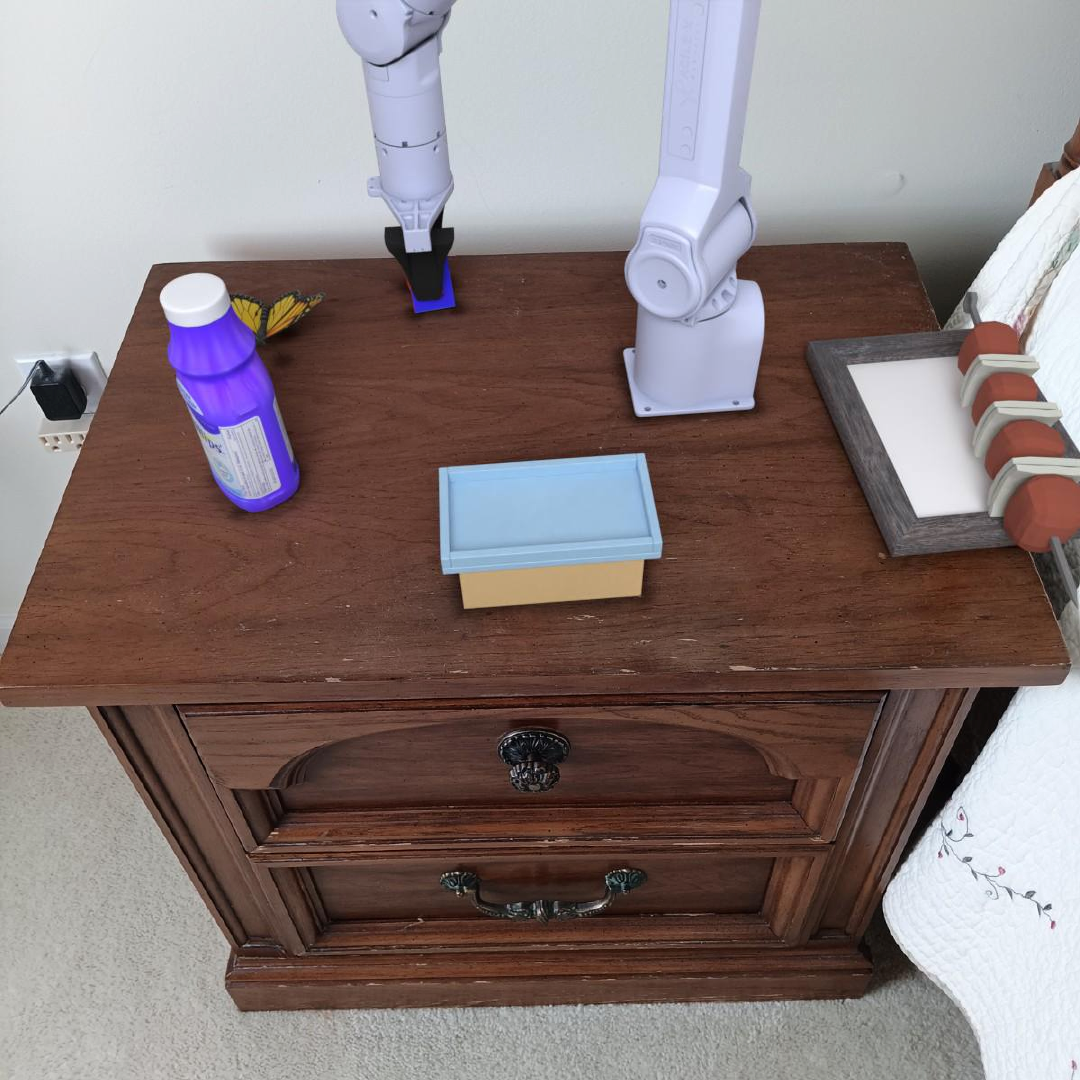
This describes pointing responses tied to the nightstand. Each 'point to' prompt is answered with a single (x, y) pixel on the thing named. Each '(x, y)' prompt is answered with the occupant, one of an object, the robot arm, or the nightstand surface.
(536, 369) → the nightstand surface
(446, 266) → the toy building block
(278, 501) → the bottle
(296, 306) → the butterfly
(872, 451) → the picture frame
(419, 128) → the robot arm
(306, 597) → the nightstand surface
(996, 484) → the skewer
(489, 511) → the stand
